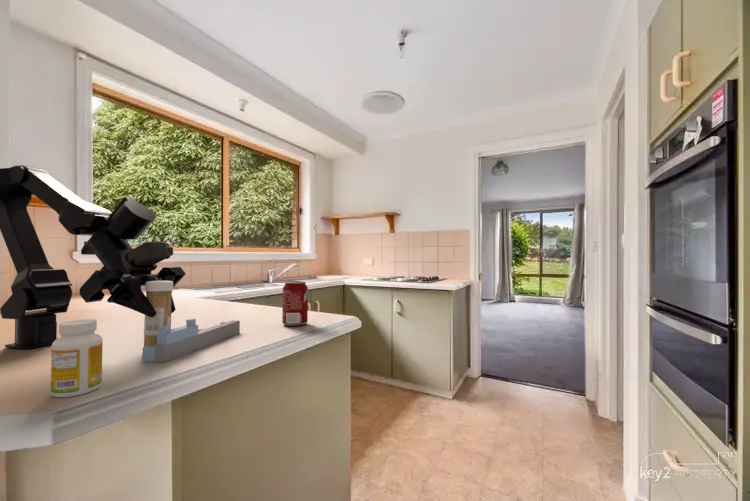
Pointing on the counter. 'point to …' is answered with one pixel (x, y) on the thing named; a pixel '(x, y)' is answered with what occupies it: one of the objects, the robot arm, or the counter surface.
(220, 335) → the grey long notched block
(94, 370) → the supplement bottle
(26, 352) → the counter surface
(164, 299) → the sprinkles bottle
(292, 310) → the soda can
